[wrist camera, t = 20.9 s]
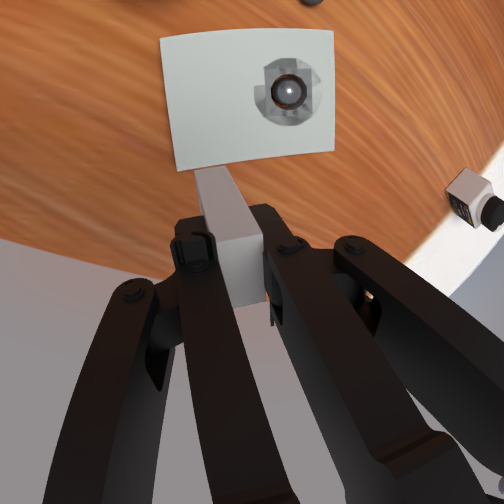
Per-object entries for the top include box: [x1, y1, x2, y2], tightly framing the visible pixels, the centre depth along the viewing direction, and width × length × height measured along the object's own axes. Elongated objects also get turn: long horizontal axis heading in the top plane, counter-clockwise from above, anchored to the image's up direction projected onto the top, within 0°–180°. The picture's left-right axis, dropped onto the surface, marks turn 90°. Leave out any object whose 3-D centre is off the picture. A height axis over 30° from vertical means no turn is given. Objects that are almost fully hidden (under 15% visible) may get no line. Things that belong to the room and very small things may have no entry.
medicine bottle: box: [445, 168, 504, 232], centre depth 47 cm, size 7×7×12 cm
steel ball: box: [272, 78, 302, 105], centre depth 34 cm, size 4×4×4 cm
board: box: [160, 28, 335, 172], centre depth 34 cm, size 20×16×2 cm
